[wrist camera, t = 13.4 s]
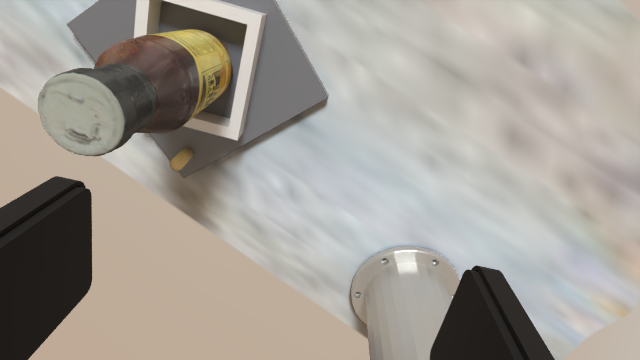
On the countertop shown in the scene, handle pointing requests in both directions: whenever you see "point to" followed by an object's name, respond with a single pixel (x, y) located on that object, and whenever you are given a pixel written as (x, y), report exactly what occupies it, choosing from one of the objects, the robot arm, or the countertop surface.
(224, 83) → the sauce bottle
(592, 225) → the countertop surface
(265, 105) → the locating plate
